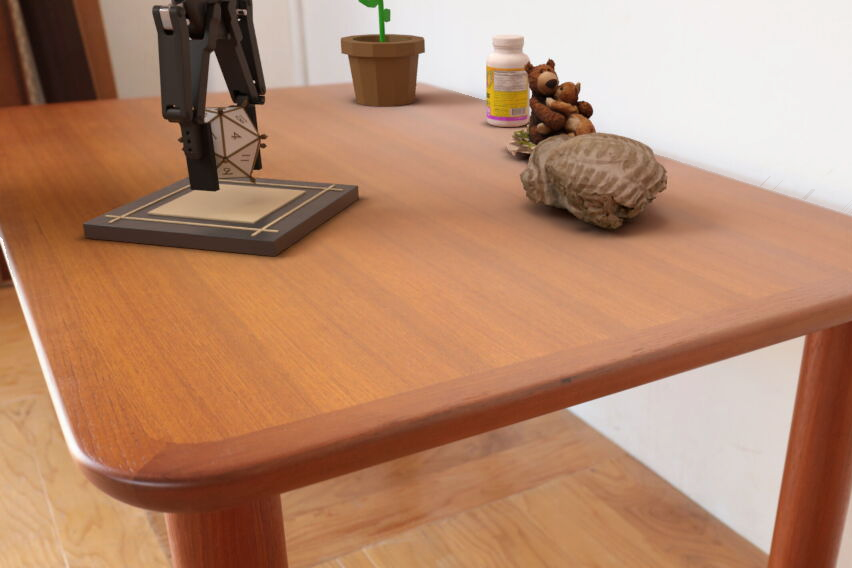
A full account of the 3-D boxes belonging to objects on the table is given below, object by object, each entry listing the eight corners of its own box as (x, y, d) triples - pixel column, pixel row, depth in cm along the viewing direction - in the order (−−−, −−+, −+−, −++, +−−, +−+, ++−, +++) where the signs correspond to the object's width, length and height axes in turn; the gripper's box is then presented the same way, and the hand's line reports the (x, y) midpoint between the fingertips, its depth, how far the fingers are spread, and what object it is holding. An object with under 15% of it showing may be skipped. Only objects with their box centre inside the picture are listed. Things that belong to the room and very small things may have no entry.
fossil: (499, 178, 101) (533, 94, 98) (599, 214, 106) (633, 134, 103) (548, 225, 85) (590, 126, 82) (662, 264, 91) (705, 172, 88)
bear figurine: (532, 173, 110) (534, 71, 105) (495, 147, 123) (495, 55, 118) (632, 166, 114) (639, 67, 109) (586, 141, 127) (590, 52, 122)
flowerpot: (355, 92, 162) (344, -92, 149) (433, 94, 161) (428, -91, 148) (333, 107, 149) (318, -93, 136) (418, 109, 148) (411, -93, 135)
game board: (84, 238, 86) (81, 221, 85) (197, 185, 104) (195, 171, 103) (275, 256, 82) (273, 239, 81) (359, 198, 100) (358, 183, 99)
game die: (241, 221, 91) (234, 155, 83) (166, 187, 92) (152, 117, 83) (286, 164, 96) (283, 96, 88) (215, 132, 96) (206, 61, 88)
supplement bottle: (493, 118, 142) (493, 33, 136) (534, 121, 140) (535, 34, 135) (480, 126, 136) (480, 37, 131) (522, 129, 134) (524, 39, 129)
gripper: (167, -66, 72) (206, 209, 81) (286, -67, 90) (306, 157, 100) (85, -67, 73) (133, 203, 83) (218, -68, 92) (245, 153, 101)
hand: (228, 178), depth 91 cm, fingers closed on game die, 8 cm apart
